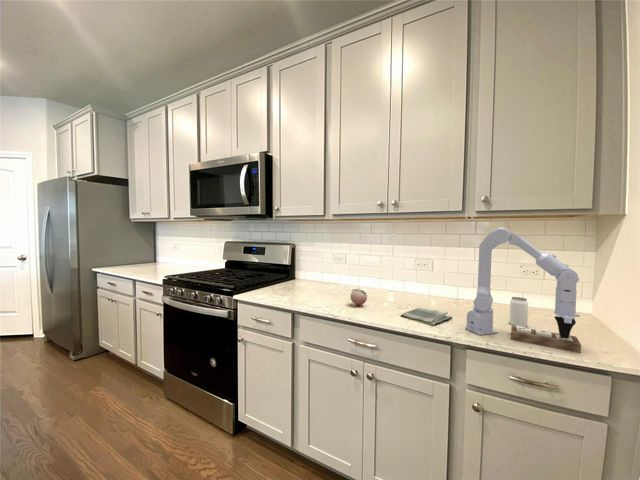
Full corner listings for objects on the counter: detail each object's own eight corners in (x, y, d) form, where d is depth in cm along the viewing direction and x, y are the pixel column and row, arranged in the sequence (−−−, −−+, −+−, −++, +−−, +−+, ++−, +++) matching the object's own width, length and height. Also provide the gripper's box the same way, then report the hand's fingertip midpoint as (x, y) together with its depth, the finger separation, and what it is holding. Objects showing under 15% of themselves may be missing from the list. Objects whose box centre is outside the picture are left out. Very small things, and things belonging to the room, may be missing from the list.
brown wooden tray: (511, 339, 108) (511, 332, 108) (511, 332, 116) (511, 325, 116) (580, 352, 97) (581, 344, 97) (575, 344, 104) (576, 336, 104)
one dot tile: (535, 339, 106) (536, 331, 106) (535, 336, 110) (535, 328, 109) (551, 342, 103) (551, 334, 103) (550, 338, 107) (550, 330, 107)
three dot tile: (516, 336, 109) (516, 328, 109) (516, 332, 113) (516, 325, 113) (531, 339, 107) (531, 331, 106) (530, 335, 110) (530, 327, 110)
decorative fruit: (347, 306, 153) (347, 288, 153) (352, 303, 160) (353, 286, 160) (364, 309, 149) (364, 290, 148) (368, 305, 156) (369, 287, 156)
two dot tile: (556, 346, 102) (556, 337, 102) (554, 341, 106) (555, 333, 106) (573, 349, 100) (573, 340, 100) (570, 344, 104) (571, 336, 103)
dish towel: (399, 317, 136) (399, 311, 136) (418, 311, 148) (419, 305, 148) (435, 328, 122) (435, 321, 122) (454, 319, 133) (454, 313, 133)
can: (510, 321, 130) (511, 296, 130) (527, 324, 126) (528, 298, 126) (508, 325, 125) (509, 298, 125) (526, 328, 121) (527, 301, 121)
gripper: (584, 307, 94) (582, 346, 95) (576, 298, 106) (574, 333, 107) (557, 303, 98) (555, 341, 99) (552, 295, 110) (551, 329, 111)
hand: (564, 337), depth 103 cm, fingers closed, pressing on two dot tile
